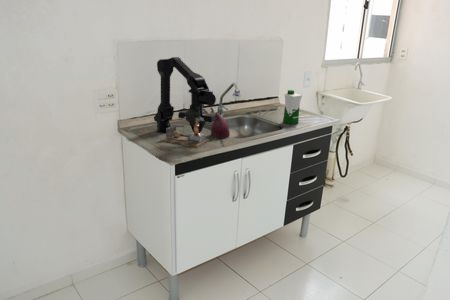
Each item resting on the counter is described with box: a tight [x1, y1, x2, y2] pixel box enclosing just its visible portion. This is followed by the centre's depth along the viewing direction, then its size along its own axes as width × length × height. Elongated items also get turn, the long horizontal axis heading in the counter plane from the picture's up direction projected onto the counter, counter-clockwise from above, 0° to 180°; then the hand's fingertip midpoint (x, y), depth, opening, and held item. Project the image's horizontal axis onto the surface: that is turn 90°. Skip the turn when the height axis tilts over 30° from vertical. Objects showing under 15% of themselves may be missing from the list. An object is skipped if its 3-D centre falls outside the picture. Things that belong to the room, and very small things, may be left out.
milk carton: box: [282, 89, 303, 126], centre depth 228 cm, size 9×9×20 cm
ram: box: [187, 123, 206, 143], centre depth 185 cm, size 7×6×8 cm
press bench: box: [163, 125, 210, 149], centre depth 188 cm, size 20×12×6 cm, turn 66°
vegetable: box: [210, 111, 231, 139], centre depth 197 cm, size 10×10×15 cm
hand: (196, 132), depth 184 cm, fingers closed on ram, 3 cm apart
